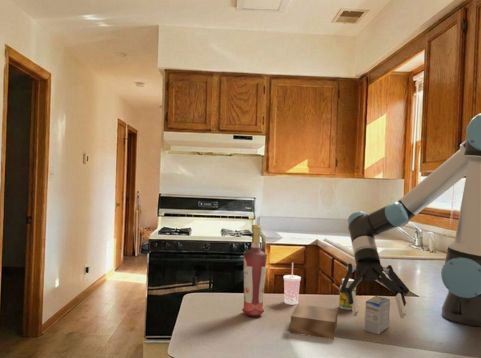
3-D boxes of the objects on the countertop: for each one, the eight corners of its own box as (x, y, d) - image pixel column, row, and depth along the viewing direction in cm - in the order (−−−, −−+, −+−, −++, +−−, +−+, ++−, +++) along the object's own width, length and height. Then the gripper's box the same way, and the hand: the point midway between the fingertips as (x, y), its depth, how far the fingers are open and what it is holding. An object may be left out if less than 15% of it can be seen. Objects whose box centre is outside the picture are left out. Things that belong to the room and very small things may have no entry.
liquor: (266, 318, 124) (270, 226, 125) (243, 318, 123) (247, 226, 123) (261, 310, 131) (265, 224, 132) (239, 311, 130) (243, 223, 131)
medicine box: (374, 324, 123) (375, 295, 123) (389, 327, 120) (390, 298, 120) (364, 330, 117) (365, 300, 117) (379, 334, 114) (380, 304, 114)
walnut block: (336, 326, 121) (337, 309, 121) (334, 340, 109) (335, 322, 110) (296, 320, 124) (297, 304, 124) (290, 334, 113) (291, 316, 113)
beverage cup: (299, 305, 138) (301, 264, 139) (281, 304, 140) (283, 263, 140) (300, 301, 144) (302, 261, 145) (283, 299, 146) (284, 260, 146)
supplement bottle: (358, 309, 137) (359, 280, 137) (346, 310, 135) (347, 282, 135) (348, 304, 142) (349, 277, 142) (335, 306, 140) (336, 278, 140)
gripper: (400, 261, 134) (418, 323, 119) (325, 258, 134) (333, 319, 119) (408, 248, 129) (427, 310, 114) (329, 245, 129) (338, 306, 114)
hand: (379, 315), depth 117 cm, fingers open, 13 cm apart
